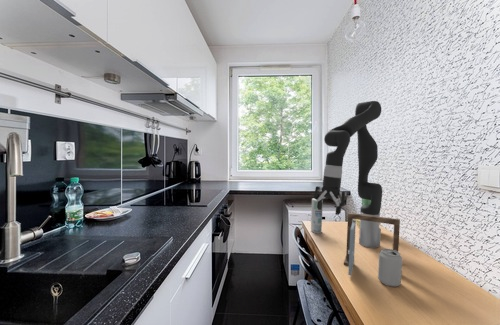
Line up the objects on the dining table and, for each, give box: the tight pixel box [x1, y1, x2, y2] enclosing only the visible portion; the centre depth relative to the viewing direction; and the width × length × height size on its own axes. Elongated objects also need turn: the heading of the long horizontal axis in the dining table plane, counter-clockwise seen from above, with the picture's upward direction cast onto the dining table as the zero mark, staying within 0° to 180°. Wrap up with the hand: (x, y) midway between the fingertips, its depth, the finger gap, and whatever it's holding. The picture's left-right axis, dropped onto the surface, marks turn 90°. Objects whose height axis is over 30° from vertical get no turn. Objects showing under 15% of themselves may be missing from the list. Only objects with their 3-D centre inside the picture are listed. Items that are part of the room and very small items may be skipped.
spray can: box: [310, 197, 324, 234], centre depth 144 cm, size 6×6×20 cm
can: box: [377, 248, 403, 288], centre depth 88 cm, size 8×8×12 cm
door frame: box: [343, 212, 401, 267], centre depth 100 cm, size 21×8×22 cm, turn 62°
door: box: [347, 220, 357, 276], centre depth 97 cm, size 14×2×18 cm, turn 152°
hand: (328, 212), depth 103 cm, fingers open, 8 cm apart
